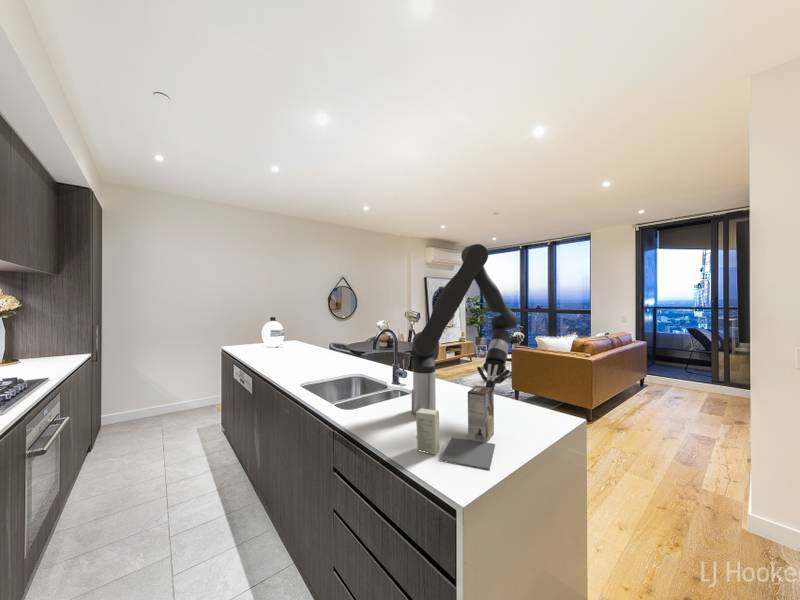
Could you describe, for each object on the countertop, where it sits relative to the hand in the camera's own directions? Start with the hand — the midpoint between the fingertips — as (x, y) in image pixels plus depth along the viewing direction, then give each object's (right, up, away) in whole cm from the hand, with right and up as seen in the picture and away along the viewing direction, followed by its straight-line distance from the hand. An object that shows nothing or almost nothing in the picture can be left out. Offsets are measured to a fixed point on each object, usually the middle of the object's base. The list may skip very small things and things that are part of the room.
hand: (489, 391), depth 116 cm
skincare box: (-24, -13, -17) cm, 32 cm away
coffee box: (-5, -13, -8) cm, 16 cm away
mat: (-12, -13, -19) cm, 26 cm away
